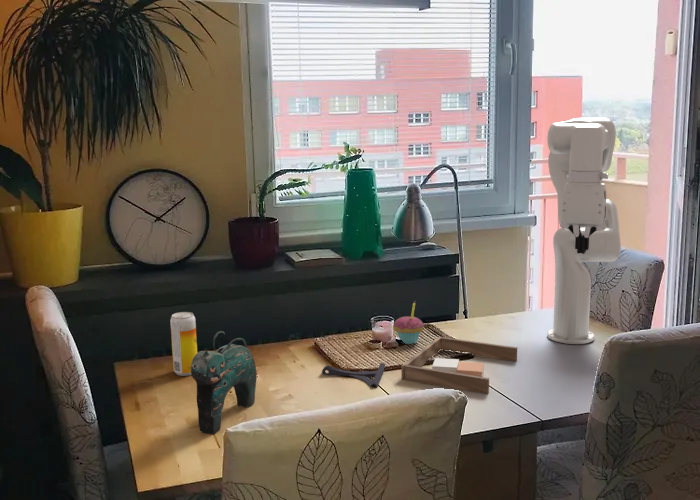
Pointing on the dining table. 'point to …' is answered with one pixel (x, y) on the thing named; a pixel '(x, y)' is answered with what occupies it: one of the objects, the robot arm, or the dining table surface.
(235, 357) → the ceramic cat
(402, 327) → the cupcake
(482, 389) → the frame
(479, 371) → the terracotta tile
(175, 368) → the beer can
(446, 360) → the white square tile
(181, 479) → the dining table surface
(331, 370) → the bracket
